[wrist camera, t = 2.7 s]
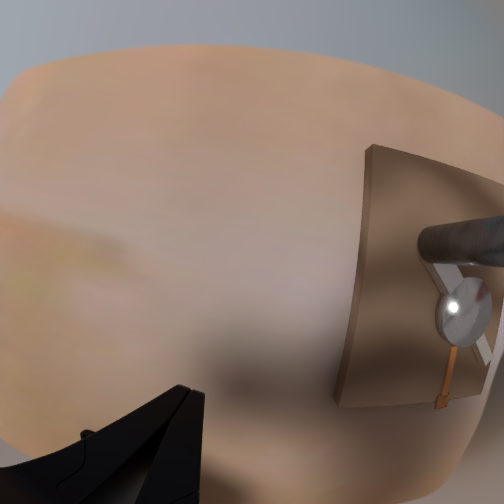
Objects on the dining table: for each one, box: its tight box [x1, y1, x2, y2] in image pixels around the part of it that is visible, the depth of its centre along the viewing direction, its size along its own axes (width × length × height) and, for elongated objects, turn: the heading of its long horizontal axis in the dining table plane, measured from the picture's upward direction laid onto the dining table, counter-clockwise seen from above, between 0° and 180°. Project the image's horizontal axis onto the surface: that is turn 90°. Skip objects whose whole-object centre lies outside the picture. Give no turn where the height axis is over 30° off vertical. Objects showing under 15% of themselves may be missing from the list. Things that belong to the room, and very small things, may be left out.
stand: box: [333, 144, 504, 409], centre depth 19 cm, size 19×14×2 cm
